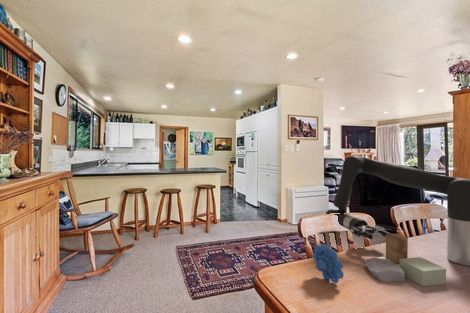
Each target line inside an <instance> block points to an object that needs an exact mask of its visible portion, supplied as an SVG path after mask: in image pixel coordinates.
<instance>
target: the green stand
mask: <svg viewBox="0 0 470 313" xmlns="http://www.w3.org/2000/svg"><path fill="white" fill-rule="evenodd" d="M400 267H401V268H402V270H403V271H404V273H405V278H406V277H407V278H408V279H409V280H411V281H413V282H415V283H416V284H418V285H420V286H421V287H428V286H438V285H444V284H445V285H446V284H447V268H446V267H443V266H441V265H439V264H436V263H434V262H432V261H430V260H429V259H428V260H427V259H425V258H424V257H421V256H418V257H408V258H404V259H400Z"/></svg>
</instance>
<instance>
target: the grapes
mask: <svg viewBox="0 0 470 313" xmlns="http://www.w3.org/2000/svg"><path fill="white" fill-rule="evenodd" d="M314 251H315V252H313V253H312V259H313V260H314V261H315V268H316V269H317V271H319V272H321V273H322V277H323V279H325V280H326V281H329V280H330V281H331V282H332V283H334V284H338V283H339V280H340V279H343V278H344V272H343V271H342V269H343V267H344V265H343V262H342V261H341V259H339V258H337V257H338V254H337V252H336V250H335V249H333V248H329V246H328V245H327V243H321V244H320V245H319V244H316V245H315V246H314Z"/></svg>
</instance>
